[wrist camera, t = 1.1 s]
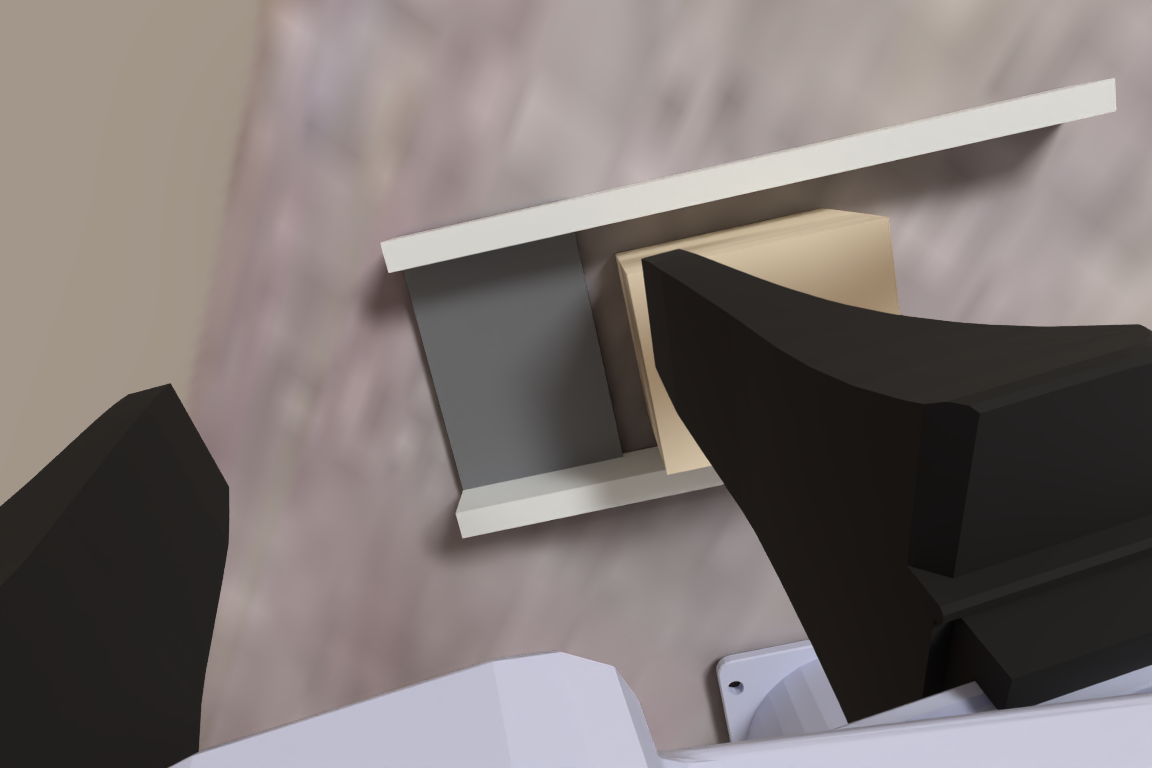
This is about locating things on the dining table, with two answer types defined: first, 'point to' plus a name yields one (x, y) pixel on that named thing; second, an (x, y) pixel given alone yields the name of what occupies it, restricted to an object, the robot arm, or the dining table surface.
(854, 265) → the maple block
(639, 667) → the dining table surface
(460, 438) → the white u-shaped piece
